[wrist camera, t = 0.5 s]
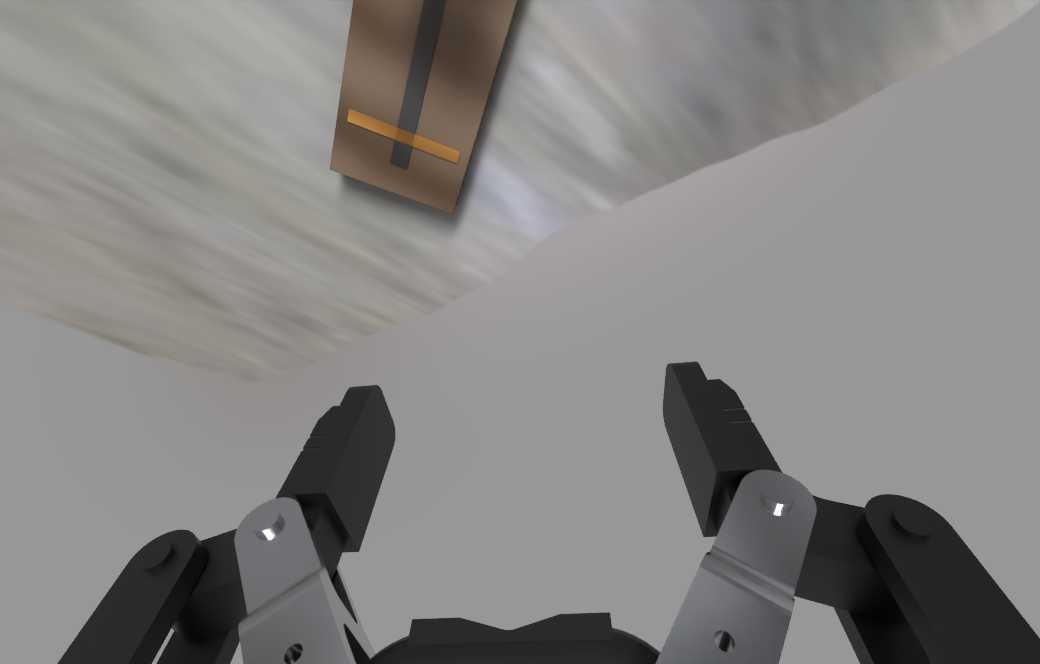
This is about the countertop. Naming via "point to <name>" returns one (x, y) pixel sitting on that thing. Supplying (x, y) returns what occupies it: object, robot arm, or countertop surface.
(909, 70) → the countertop surface
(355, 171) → the board
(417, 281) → the countertop surface
